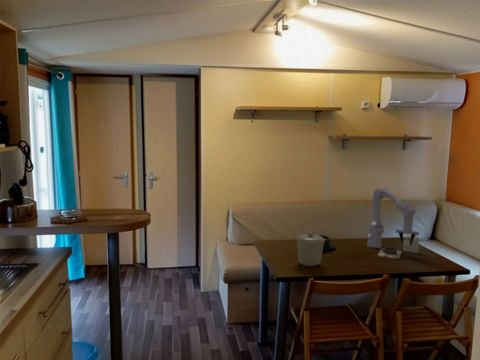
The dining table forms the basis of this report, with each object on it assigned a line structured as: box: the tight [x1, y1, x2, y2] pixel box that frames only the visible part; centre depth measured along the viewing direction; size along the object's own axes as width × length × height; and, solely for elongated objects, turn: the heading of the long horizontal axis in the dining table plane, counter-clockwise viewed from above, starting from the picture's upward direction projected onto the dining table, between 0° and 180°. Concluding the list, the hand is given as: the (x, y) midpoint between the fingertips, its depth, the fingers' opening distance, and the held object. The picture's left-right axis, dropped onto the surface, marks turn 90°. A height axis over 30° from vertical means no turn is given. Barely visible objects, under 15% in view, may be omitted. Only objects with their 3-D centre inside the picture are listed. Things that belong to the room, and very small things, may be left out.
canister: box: [295, 230, 325, 267], centre depth 261 cm, size 18×18×21 cm
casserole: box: [318, 234, 337, 252], centre depth 297 cm, size 25×19×8 cm
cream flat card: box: [376, 246, 403, 260], centre depth 287 cm, size 14×18×4 cm
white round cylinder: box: [401, 237, 411, 247], centre depth 283 cm, size 5×5×5 cm
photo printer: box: [402, 234, 420, 254], centre depth 295 cm, size 10×4×12 cm, turn 39°
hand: (406, 244), depth 284 cm, fingers closed on white round cylinder, 5 cm apart
